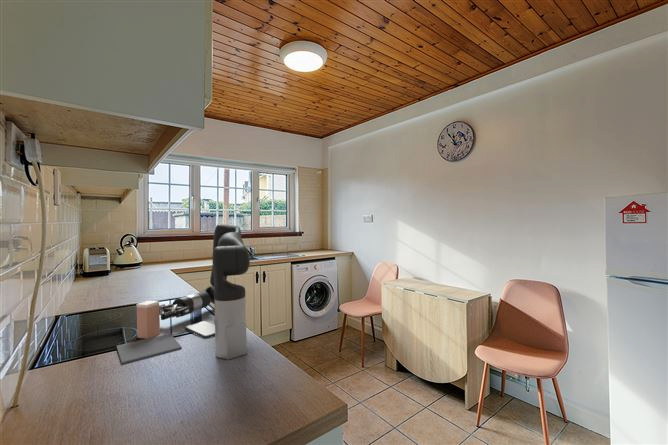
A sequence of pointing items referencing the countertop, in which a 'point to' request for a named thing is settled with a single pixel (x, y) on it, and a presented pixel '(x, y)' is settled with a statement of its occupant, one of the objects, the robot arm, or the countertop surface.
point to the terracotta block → (148, 319)
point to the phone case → (202, 329)
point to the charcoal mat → (147, 348)
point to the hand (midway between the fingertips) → (153, 316)
